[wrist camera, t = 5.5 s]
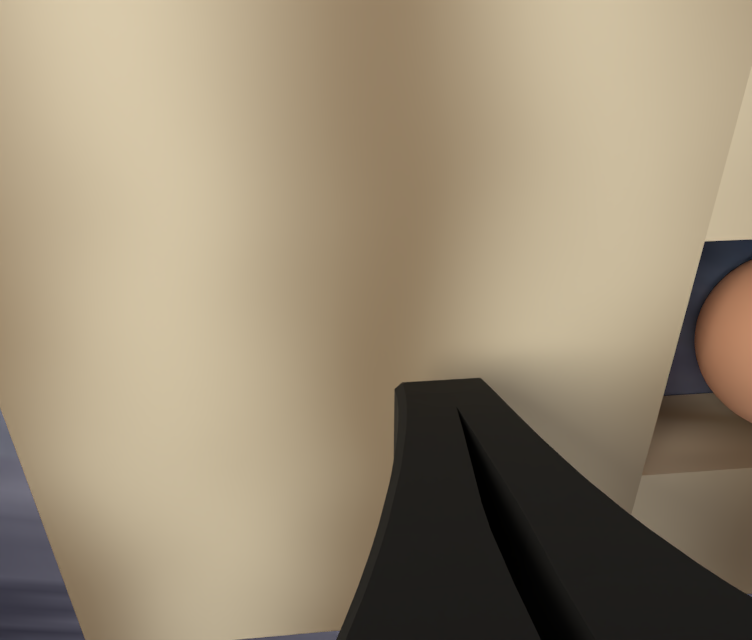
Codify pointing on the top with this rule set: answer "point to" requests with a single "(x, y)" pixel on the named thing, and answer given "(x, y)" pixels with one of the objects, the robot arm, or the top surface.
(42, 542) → the top surface
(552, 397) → the beige flat board
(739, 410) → the ball
